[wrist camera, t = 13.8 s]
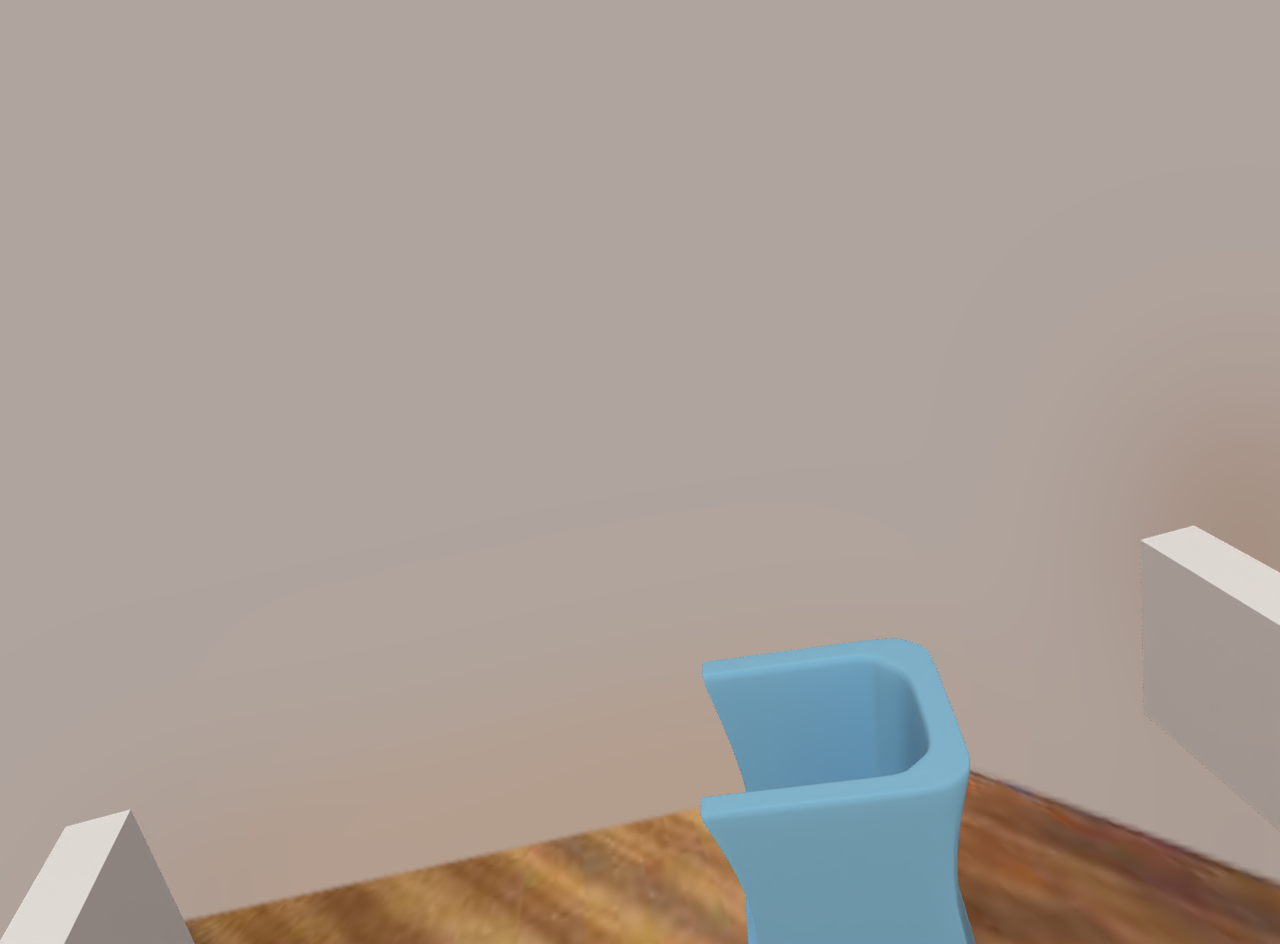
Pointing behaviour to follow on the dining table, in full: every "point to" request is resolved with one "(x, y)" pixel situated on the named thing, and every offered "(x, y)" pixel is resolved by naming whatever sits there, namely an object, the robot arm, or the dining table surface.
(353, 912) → the dining table surface
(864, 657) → the vase
